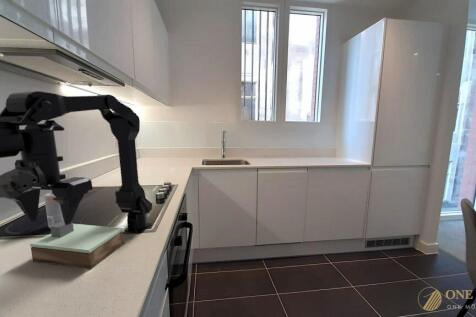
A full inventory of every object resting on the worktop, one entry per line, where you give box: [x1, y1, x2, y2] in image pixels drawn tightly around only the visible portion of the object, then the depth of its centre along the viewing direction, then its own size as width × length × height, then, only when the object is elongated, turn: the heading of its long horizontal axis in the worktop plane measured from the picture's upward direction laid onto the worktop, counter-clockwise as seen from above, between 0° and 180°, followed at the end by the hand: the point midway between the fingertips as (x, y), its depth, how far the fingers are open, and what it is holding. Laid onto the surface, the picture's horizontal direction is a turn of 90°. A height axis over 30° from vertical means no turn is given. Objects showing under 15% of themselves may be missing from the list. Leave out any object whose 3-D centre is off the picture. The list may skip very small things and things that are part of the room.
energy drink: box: [43, 191, 64, 229], centre depth 79 cm, size 5×5×12 cm
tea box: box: [30, 231, 125, 270], centre depth 63 cm, size 12×18×4 cm, turn 79°
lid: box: [29, 220, 123, 253], centre depth 62 cm, size 12×18×4 cm, turn 80°
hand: (50, 222), depth 49 cm, fingers open, 9 cm apart
